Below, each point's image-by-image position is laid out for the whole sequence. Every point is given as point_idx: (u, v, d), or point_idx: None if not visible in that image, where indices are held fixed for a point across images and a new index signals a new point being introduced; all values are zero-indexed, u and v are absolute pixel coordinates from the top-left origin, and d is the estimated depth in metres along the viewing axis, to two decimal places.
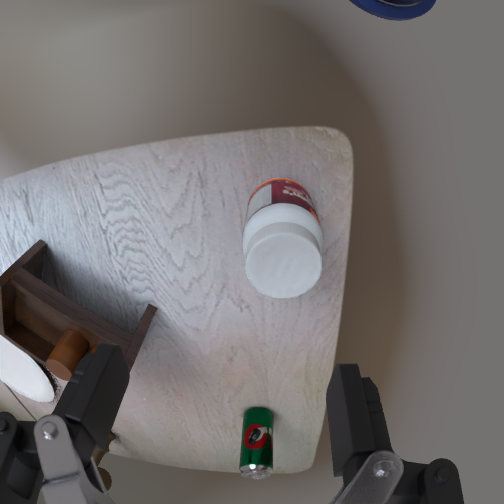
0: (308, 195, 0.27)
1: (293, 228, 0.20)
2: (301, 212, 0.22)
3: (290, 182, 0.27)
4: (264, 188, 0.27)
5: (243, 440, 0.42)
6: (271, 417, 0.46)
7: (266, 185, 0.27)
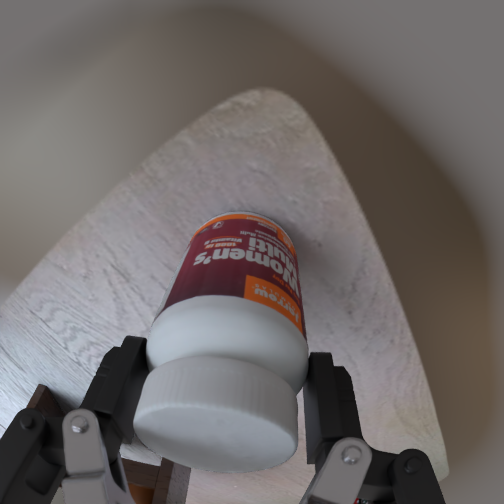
0: (262, 230, 0.15)
1: (180, 380, 0.08)
2: (208, 314, 0.09)
3: (222, 223, 0.15)
4: None
5: None
6: None
7: (186, 249, 0.15)
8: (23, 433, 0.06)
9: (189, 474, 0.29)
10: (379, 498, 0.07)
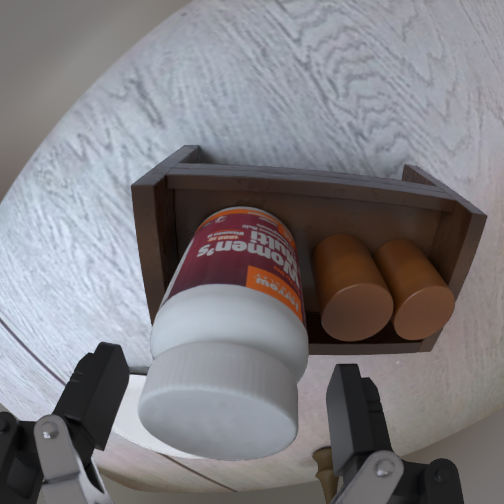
0: (263, 224, 0.15)
1: (184, 364, 0.08)
2: (211, 302, 0.10)
3: (224, 218, 0.15)
4: (185, 251, 0.15)
5: None
6: None
7: (190, 242, 0.16)
8: None
9: None
10: None
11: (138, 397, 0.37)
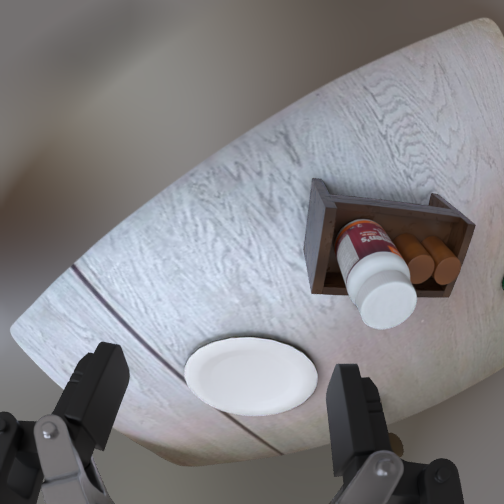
0: (379, 228, 0.30)
1: (385, 277, 0.23)
2: (384, 257, 0.25)
3: (361, 224, 0.31)
4: (344, 240, 0.30)
5: None
6: None
7: (344, 236, 0.31)
8: None
9: None
10: None
11: (234, 359, 0.53)
